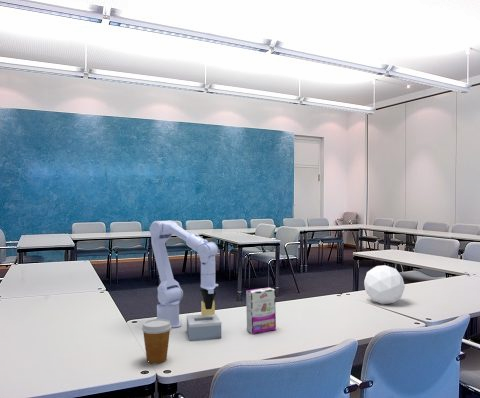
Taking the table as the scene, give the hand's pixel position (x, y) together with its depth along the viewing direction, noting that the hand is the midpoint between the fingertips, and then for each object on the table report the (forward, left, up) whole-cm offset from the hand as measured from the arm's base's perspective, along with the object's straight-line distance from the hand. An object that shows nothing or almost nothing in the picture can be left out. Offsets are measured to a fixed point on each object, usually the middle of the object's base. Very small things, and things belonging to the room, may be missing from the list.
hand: (208, 308), depth 151 cm
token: (0, 0, -2) cm, 2 cm away
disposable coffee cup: (-20, -22, -10) cm, 31 cm away
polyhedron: (+94, +25, -10) cm, 98 cm away
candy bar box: (+21, -2, -10) cm, 23 cm away
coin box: (-2, -1, -10) cm, 10 cm away
